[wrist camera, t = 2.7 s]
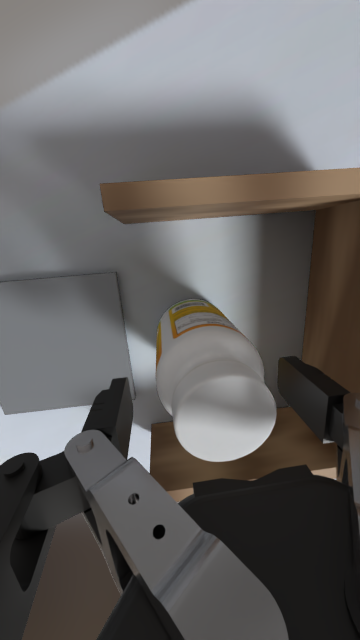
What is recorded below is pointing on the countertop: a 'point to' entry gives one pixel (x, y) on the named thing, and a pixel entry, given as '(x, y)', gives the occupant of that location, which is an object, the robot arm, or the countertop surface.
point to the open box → (321, 314)
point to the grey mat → (60, 341)
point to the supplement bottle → (211, 383)
